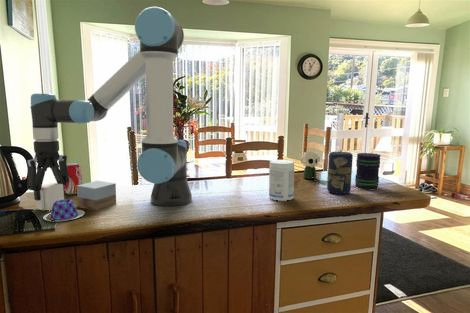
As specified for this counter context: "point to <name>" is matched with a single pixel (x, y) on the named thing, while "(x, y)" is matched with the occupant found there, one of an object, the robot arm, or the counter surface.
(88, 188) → the slate top block
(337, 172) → the canister
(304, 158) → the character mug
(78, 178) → the soda can
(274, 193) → the supplement tub
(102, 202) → the walnut base block
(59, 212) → the pudding
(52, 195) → the cream pillar block
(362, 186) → the storage jar
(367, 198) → the counter surface
